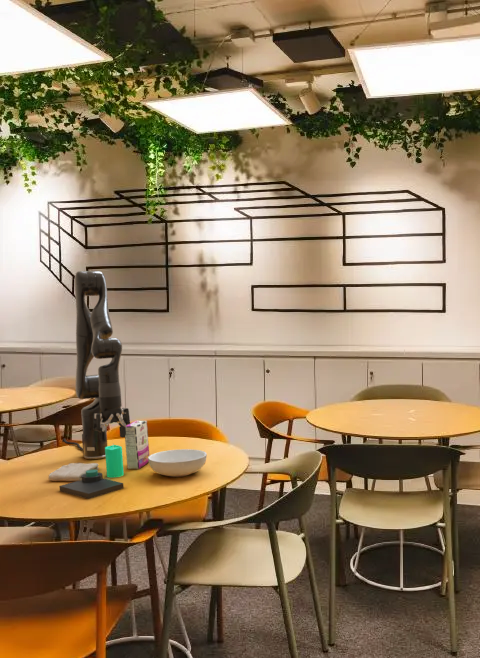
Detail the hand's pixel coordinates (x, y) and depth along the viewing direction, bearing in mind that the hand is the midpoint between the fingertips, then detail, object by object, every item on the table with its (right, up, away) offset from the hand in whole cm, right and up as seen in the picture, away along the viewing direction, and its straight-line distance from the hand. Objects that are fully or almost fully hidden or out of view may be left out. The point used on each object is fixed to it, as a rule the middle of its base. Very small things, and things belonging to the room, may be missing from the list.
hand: (113, 439), depth 242 cm
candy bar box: (+6, -11, +15) cm, 20 cm away
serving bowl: (+23, -13, +1) cm, 26 cm away
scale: (-3, -16, -16) cm, 22 cm away
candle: (0, -13, +2) cm, 14 cm away
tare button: (-5, -12, -10) cm, 16 cm away
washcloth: (-15, -14, +4) cm, 20 cm away
